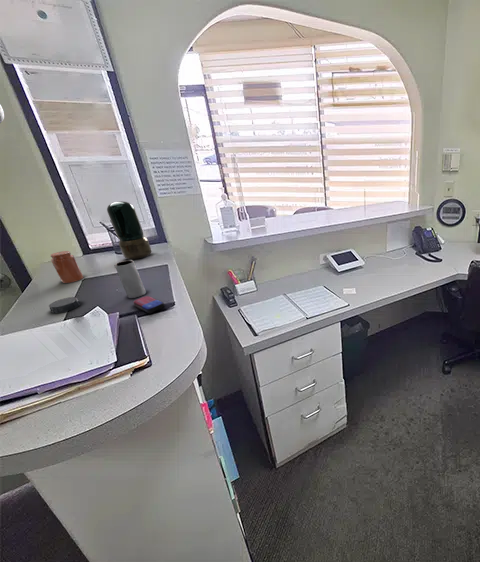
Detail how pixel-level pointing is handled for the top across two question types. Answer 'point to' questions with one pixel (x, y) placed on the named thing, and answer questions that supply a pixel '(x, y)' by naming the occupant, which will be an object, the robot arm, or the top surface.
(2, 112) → the robot arm
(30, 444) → the top surface
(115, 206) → the lamp
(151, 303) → the eraser
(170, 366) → the top surface
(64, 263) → the jar
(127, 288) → the planter
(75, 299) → the jar lid
